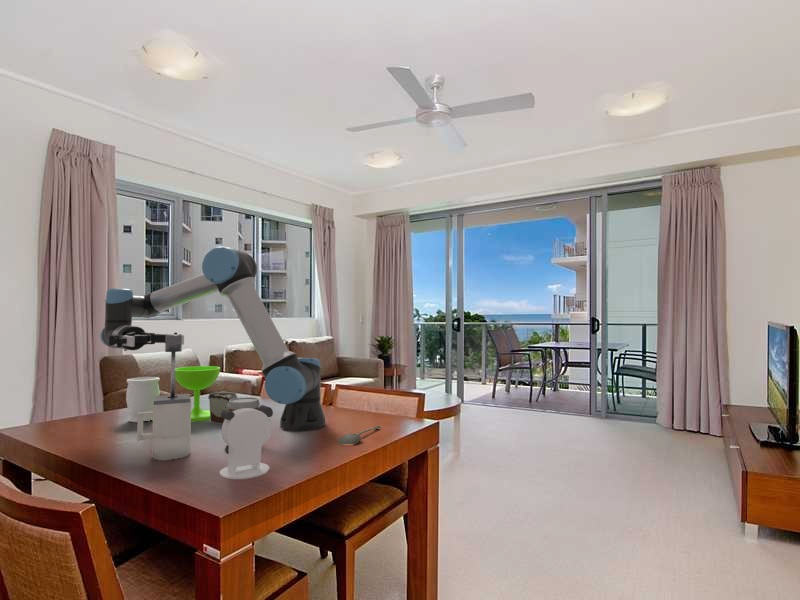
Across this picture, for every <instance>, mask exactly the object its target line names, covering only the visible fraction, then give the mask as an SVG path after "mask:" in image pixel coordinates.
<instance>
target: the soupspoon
mask: <svg viewBox="0 0 800 600" xmlns="http://www.w3.org/2000/svg"><path fill="white" fill-rule="evenodd" d="M378 428H381V425H376V426H373V427H371V428H368V429H364V430H362V431H360V432H358V433H347V434H344V435H342V436H341V437H339V438H338V441H337V444H338V443H339V444H355V445H356V444H358V443H359V442H360V440H361V439H362V437H361V435H362V434H364V433H367V432H370V431H372V430H373V429H374V431H376V430H375V429H378ZM378 430H379V429H378ZM339 444H338V445H339Z"/></svg>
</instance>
